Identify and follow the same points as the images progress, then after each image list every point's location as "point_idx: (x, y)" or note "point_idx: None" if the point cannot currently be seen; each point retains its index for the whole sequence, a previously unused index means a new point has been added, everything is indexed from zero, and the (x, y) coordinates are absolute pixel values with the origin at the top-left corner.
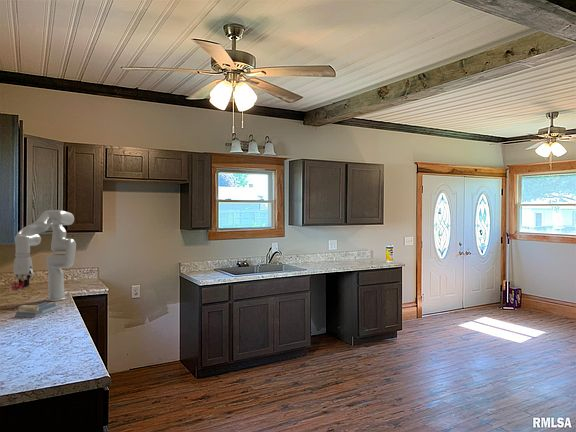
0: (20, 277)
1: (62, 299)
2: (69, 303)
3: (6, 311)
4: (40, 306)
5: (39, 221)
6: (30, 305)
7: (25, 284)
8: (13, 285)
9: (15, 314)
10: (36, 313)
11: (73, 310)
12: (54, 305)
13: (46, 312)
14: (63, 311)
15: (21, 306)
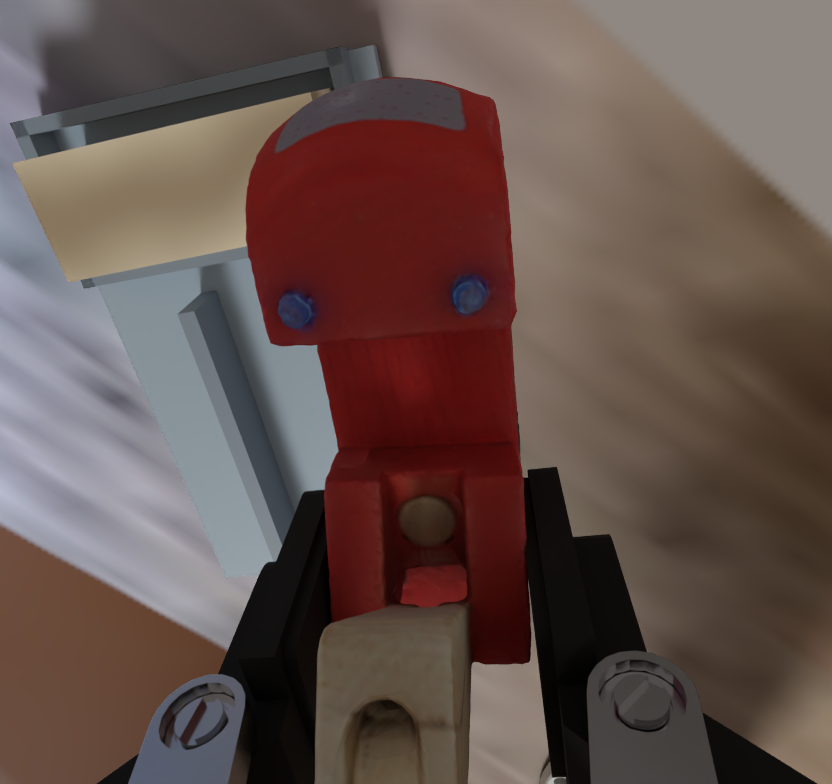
0: (321, 674)
1: (541, 781)
2: None
3: (792, 243)
4: None
5: None
6: (205, 248)
7: (292, 524)
8: (342, 98)
9: (374, 57)
10: None
11: (2, 516)
12: None
13: (128, 338)
14: (50, 457)
15: (274, 129)
